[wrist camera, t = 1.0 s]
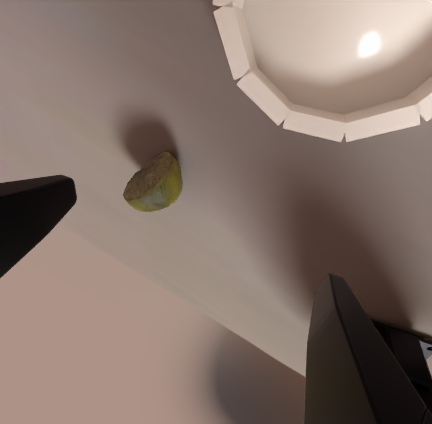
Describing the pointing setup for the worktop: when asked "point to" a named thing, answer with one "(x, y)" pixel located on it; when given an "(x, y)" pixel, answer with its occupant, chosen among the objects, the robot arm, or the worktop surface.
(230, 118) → the worktop surface
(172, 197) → the lime
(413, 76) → the ceramic dish
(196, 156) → the worktop surface
